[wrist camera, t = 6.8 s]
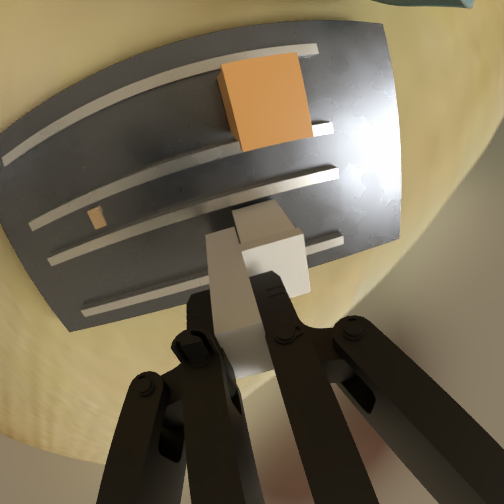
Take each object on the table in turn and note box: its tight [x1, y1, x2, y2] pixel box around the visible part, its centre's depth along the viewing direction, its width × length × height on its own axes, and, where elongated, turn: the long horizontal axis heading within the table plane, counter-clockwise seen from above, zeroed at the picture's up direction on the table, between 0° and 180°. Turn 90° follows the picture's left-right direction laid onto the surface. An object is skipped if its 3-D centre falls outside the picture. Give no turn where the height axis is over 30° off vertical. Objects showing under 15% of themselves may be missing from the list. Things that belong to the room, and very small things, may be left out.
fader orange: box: [217, 52, 314, 152], centre depth 10 cm, size 3×3×4 cm
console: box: [0, 20, 401, 332], centre depth 15 cm, size 26×15×3 cm, turn 103°
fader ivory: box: [232, 199, 311, 298], centre depth 14 cm, size 3×3×4 cm
